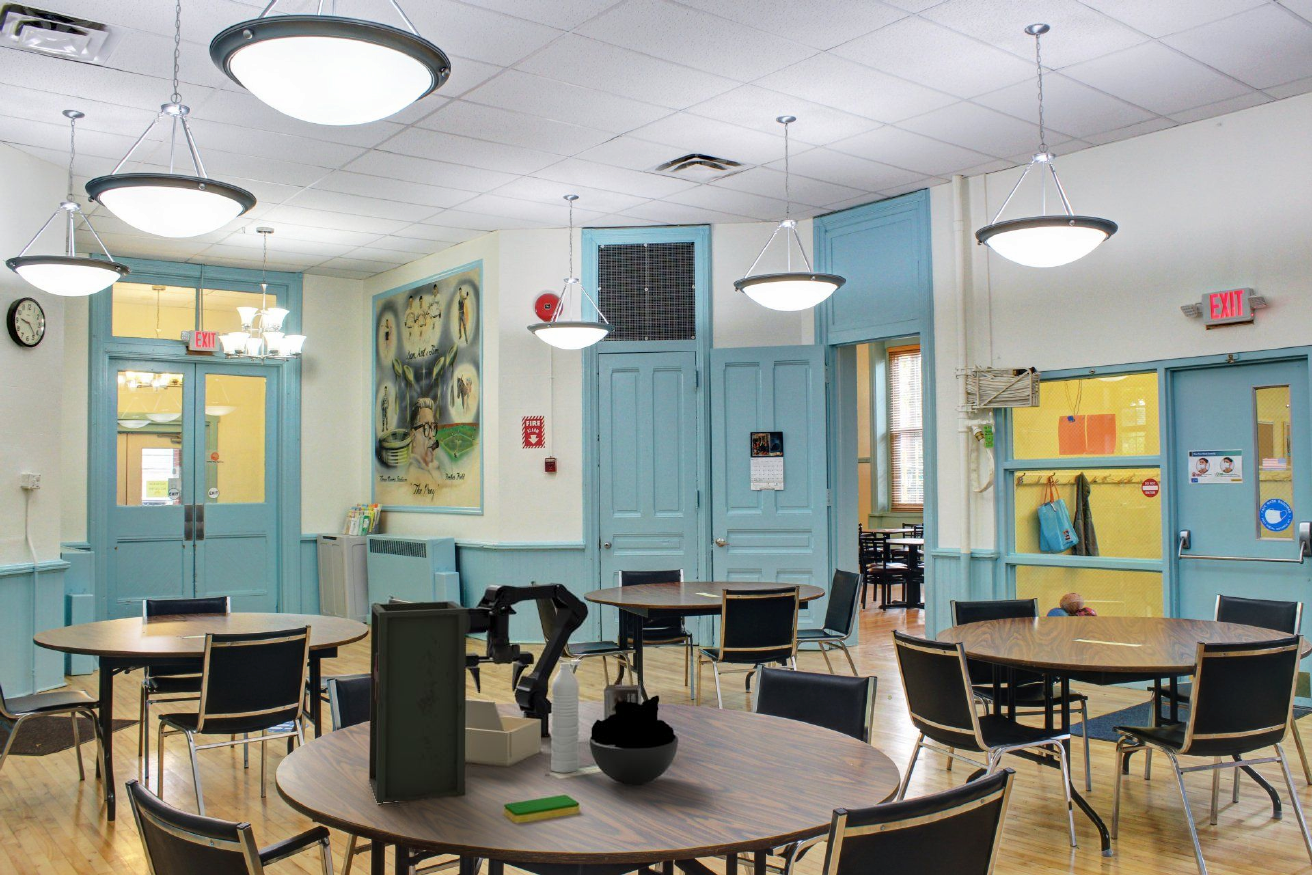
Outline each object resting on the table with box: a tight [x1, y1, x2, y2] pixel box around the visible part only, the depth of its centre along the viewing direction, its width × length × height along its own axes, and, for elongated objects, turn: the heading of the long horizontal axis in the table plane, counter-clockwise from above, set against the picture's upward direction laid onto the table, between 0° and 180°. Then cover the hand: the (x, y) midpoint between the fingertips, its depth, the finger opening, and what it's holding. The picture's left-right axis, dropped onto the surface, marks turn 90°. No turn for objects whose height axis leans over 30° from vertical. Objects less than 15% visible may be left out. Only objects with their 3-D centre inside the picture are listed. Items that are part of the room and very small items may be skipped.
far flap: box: [465, 698, 505, 731], centre depth 245 cm, size 9×19×1 cm
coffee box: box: [603, 684, 642, 720], centre depth 259 cm, size 9×6×16 cm
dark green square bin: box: [368, 600, 467, 804], centre depth 226 cm, size 18×18×40 cm
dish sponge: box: [503, 794, 580, 824], centre depth 207 cm, size 7×14×2 cm, turn 119°
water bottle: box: [550, 659, 582, 774], centre depth 242 cm, size 9×6×25 cm
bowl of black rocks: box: [589, 694, 679, 786], centre depth 229 cm, size 20×20×19 cm
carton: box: [465, 715, 542, 768], centre depth 255 cm, size 16×21×8 cm
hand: (496, 692), depth 268 cm, fingers open, 9 cm apart
